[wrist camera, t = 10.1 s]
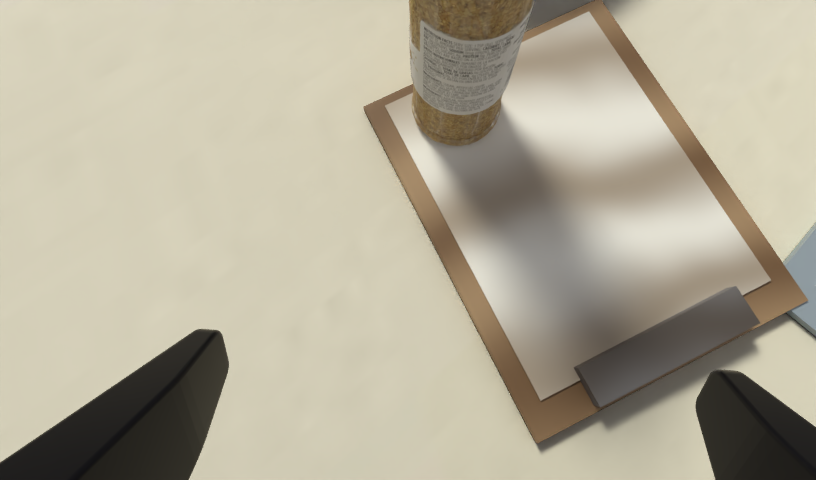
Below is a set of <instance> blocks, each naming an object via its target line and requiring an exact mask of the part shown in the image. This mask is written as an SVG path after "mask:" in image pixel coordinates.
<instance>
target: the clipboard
mask: <svg viewBox="0 0 816 480" xmlns="http://www.w3.org/2000/svg"><path fill="white" fill-rule="evenodd" d="M412 96H413V84H412V85H410V86H408V87H405V88H403V89H401V90H399V91H397V92H395V93H392V94H390V95H388V96H386V97H384V98H382V99H379V100H377V101H375V102H373V103H371V104H369V105H366V106H364V111H365V113H366V115H367V117H368V119H369V121H370V123H371V125H372V127H373V129H374V131H375V133H376V135H377V137H378V139H379V141H380V142H381V144H382V146H383V148H384V150H385V152H386V154H387V156H388V158H389V160H390V162H391V164H392V166H393V168H394V170H395V172H396V173H397V175H398V177H399V179H400V181H401V183H402V185H403V187H404V189H405V191H406V193H407V195H408V197H409V199H410V201H411V203H412V205H413V206H414V208H415V210H416V212H417V214H418V216H419V218H420V220H421V222H422V224H423V226H424V228H425V230H426V232H427V234H428V236H429V237H430V239H431V241H432V243H433V245H434V247H435V249H436V251H437V253H438V255H439V257H440V259H441V261H442V263H443V265H444V267H445V269H446V270H447V272H448V274H449V276H450V278H451V280H452V282H453V284H454V286H455V288H456V290H457V292H458V294H459V296H460V298H461V300H462V301H463V303H464V305H465V307H466V309H467V311H468V313H469V315H470V317H471V319H472V321H473V323H474V325H475V327H476V329H477V331H478V333H479V334H480V336H481V338H482V340H483V342H484V344H485V346H486V348H487V350H488V352H489V354H490V356H491V358H492V360H493V362H494V364H495V365H496V367H497V369H498V371H499V373H500V375H501V377H502V379H503V381H504V383H505V385H506V387H507V389H508V391H509V393H510V395H511V396H512V398H513V400H514V402H515V404H516V406H517V408H518V410H519V412H520V414H521V416H522V418H523V420H524V422H525V424H526V426H527V428H528V429H529V431H530V433H531V435H532V437H533V439H534V441H535V442H536V443H539V442H541V441H543V440H545V439H547V438H549V437H551V436H553V435H555V434H556V433H558V432H560V431H562V430H564V429H566V428H568V427H570V426H572V425H573V424H575V423H577V422H579V421H581V420H583V419H585V418H587V417H589V416H590V415H592V414H594V413H596V412H598V411H600V410H602V409H604V408H606V407H608V406H609V405H611V404H613V403H615V402H617V401H619V400H621V399H623V398H625V397H626V396H628V395H630V394H632V393H634V392H636V391H638V390H640V389H642V388H643V387H645V386H647V385H649V384H651V383H653V382H655V381H657V380H659V379H660V378H662V377H664V376H666V375H668V374H670V373H672V372H674V371H676V370H678V369H679V368H681V367H683V366H685V365H687V364H689V363H691V362H693V361H695V360H696V359H698V358H700V357H702V356H704V355H706V354H708V353H710V352H712V351H713V350H715V349H717V348H719V347H721V346H723V345H725V344H727V343H729V342H731V341H732V340H734V339H736V338H738V337H740V336H742V335H744V334H746V333H748V332H749V331H751V330H753V329H755V328H757V327H759V326H761V325H763V324H765V323H766V322H768V321H770V320H772V319H774V318H776V317H778V316H780V315H782V314H783V313H785V312H787V311H789V310H791V309H793V308H795V307H797V306H799V305H801V304H802V303H804V302H806V301H808V299H807V298H806V296H805V295H804V293H803V292H802V290H801V289H800V287H799V286H798V285H797V283H796V282H795V280H794V279H793V277H792V276H791V274H790V273H789V271H788V270H787V269H786V267H785V266H784V264H783V263H782V261H781V260H780V258H779V257H778V256H777V254H776V253H775V251H774V250H773V248H772V247H771V245H770V244H769V242H768V241H767V240H766V238H765V237H764V235H763V234H762V232H761V231H760V229H759V228H758V227H757V225H756V224H755V222H754V221H753V219H752V218H751V216H750V215H749V213H748V212H747V211H746V209H745V208H744V206H743V205H742V203H741V202H740V200H739V199H738V198H737V196H736V195H735V193H734V192H733V190H732V189H731V187H730V186H729V184H728V183H727V182H726V180H725V179H724V177H723V176H722V174H721V173H720V171H719V170H718V169H717V167H716V166H715V164H714V163H713V161H712V160H711V158H710V157H709V155H708V154H707V153H706V151H705V150H704V148H703V147H702V145H701V144H700V142H699V141H698V140H697V138H696V137H695V135H694V134H693V132H692V131H691V129H690V128H689V126H688V125H687V124H686V122H685V121H684V119H683V118H682V116H681V115H680V113H679V112H678V111H677V109H676V108H675V106H674V105H673V103H672V102H671V100H670V99H669V98H668V96H667V95H666V93H665V92H664V90H663V89H662V87H661V86H660V84H659V83H658V82H657V80H656V79H655V77H654V76H653V74H652V73H651V71H650V70H649V69H648V67H647V66H646V64H645V63H644V61H643V60H642V58H641V57H640V55H639V54H638V53H637V51H636V50H635V48H634V47H633V45H632V44H631V42H630V41H629V40H628V38H627V37H626V35H625V34H624V32H623V31H622V29H621V28H620V26H619V25H618V24H617V22H616V21H615V19H614V18H613V16H612V15H611V13H610V12H609V11H608V9H607V8H606V6H605V5H604V3H603V2H602V0H594V1H592V2H590V3H587V4H585V5H583V6H581V7H579V8H577V9H574V10H572V11H570V12H568V13H566V14H564V15H561V16H559V17H557V18H555V19H553V20H551V21H548V22H546V23H544V24H542V25H540V26H538V27H535V28H533V29H531V30H529V31H527V32H525V33H524V36H523V39H522V42H521V45H520V48H519V52H518V55H517V58H516V61H515V64H514V67H513V71H512V74H511V77H510V80H509V83H508V85H507V88H506V89H505V91H504V93H503V95H502V99H501V109H500V114H499V117H498V120H497V122H496V124H495V126H494V127H493V129H492V130H491V131H490V132H489V133H488V134H487V135H486V136H484V137H483V138H481V139H480V140H478V141H476V142H474V143H471V144H470V145H462V146H452V145H446V144H443V143H439V142H436V141H434V140H433V139H431V138H430V137H428V136H427V135H426V134H425V133H424V132H423V131H422V130H421V128H420V127H419V126H418V125H417V123H416V121H415V118H414V116H413V113H412Z"/></svg>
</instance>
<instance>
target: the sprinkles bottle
mask: <svg viewBox="0 0 816 480" xmlns="http://www.w3.org/2000/svg"><path fill="white" fill-rule="evenodd" d="M534 2H535V0H409V9H410V24H409V44H410V65H411V77H412V81H413V96H412V113H413V116H414V118H415V121H416V123H417V125H418V126H419V127H420V128H421V130H422V131H423V132H424V133H425V134H426V135H427V136H428V137H430V138H431V139H433V140H434V141H436V142H439V143H443V144H446V145H452V146H462V145H470V144H471V143H474V142H476V141H478V140H480V139H481V138H483V137H484V136H486V135H487V134H488V133H489V132H490V131H491V130H492V129H493V127H494V126H495V124H496V122H497V120H498V117H499V114H500V109H501V99H502V95H503V93H504V91H505V89H506V88H507V85H508V83H509V80H510V77H511V74H512V71H513V67H514V64H515V61H516V58H517V55H518V52H519V48H520V45H521V42H522V39H523V36H524V33H525V30H526V27H527V24H528V21H529V18H530V14H531V11H532V8H533V5H534Z"/></svg>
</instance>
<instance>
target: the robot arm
mask: <svg viewBox="0 0 816 480" xmlns="http://www.w3.org/2000/svg"><path fill="white" fill-rule="evenodd" d="M228 368H229V361H228V356H227V352H226V348H225V344H224V340H223V336H222V334H221V332H220V331H217V330H209V329H198V330H195V331H194V332H192V333H191V334H189V335H188V336H186V337H185V338H183V339H182V340H180V341H179V342H177V343H176V344H174V345H173V346H171V347H170V348H168V349H167V350H166V351H164V352H163V353H161V354H160V355H158V356H157V357H155V358H154V359H152V360H151V361H149V362H148V363H146V364H145V365H143V366H142V367H140V368H139V369H138V370H136V371H135V372H133V373H132V374H130V375H129V376H127V377H126V378H124V379H123V380H121V381H120V382H118V383H117V384H115V385H114V386H112V387H111V388H109V389H108V390H107V391H105V392H104V393H102V394H101V395H99V396H98V397H96V398H95V399H93V400H92V401H90V402H89V403H87V404H86V405H84V406H83V407H81V408H80V409H79V410H77V411H76V412H74V413H73V414H71V415H70V416H68V417H67V418H65V419H64V420H62V421H61V422H59V423H58V424H56V425H55V426H53V427H52V428H50V429H49V430H48V431H46V432H45V433H43V434H42V435H40V436H39V437H37V438H36V439H34V440H33V441H31V442H30V443H28V444H27V445H25V446H24V447H22V448H21V449H20V450H18V451H17V452H15V453H14V454H12V455H11V456H9V457H8V458H6V459H5V460H3V461H2V462H0V480H189V478H190V476H191V473H192V471H193V469H194V467H195V465H196V462H197V460H198V458H199V455H200V453H201V451H202V448H203V445H204V442H205V440H206V437H207V434H208V431H209V428H210V425H211V422H212V419H213V416H214V413H215V410H216V407H217V404H218V401H219V398H220V395H221V392H222V389H223V385H224V382H225V379H226V376H227V373H228ZM696 413H697V417H698V420H699V424H700V427H701V431H702V434H703V438H704V441H705V445H706V448H707V452H708V455H709V459H710V462H711V466H712V469H713V473H714V476H715V480H816V427H815V426H814V425H812V424H811V423H810V422H808V421H807V420H805V419H804V418H803V417H801V416H800V415H799V414H797V413H796V412H795V411H793V410H792V409H791V408H789V407H788V406H786V405H785V404H784V403H782V402H781V401H780V400H778V399H777V398H776V397H774V396H773V395H772V394H770V393H769V392H767V391H766V390H765V389H763V388H762V387H761V386H759V385H758V384H757V383H755V382H754V381H753V380H751V379H750V378H749V377H747V376H746V375H744V374H743V373H741V372H738V371H731V370H714V371H713V372H711V373H710V375H709V377H708V379H707V381H706V382H705V384H704V386H703V388H702V390H701V392H700V394H699V395H698V397H697V400H696Z"/></svg>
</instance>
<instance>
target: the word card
mask: <svg viewBox="0 0 816 480" xmlns="http://www.w3.org/2000/svg"><path fill="white" fill-rule="evenodd" d="M783 264H784V266H785V267H786V269H787V270H788V271H789V273H790V274H791V276H792V277H793V279H794V280H795V282H796V283H797V285H798V286H799V287H800V289H801V290H802V292H803V293H804V295H805V296H806V298H807V299H808V301H806V302H804V303H802V304H801V305H799V306H797V307H795V308H793V309H791V310H789V311H787V312H786V313H787V314H788V315H790V316H791V317H792V318H793V319H795V320H796V321H797V322H798V323H800V324H801V325H802V326H803V327H805V328H806V329H807V330H808V331H809V332H811V333H812V334H813V335H814V336H816V223H815V224H814V225H813V227H812V228H811V229H810V230H809V231H808V233H807V234H806V235H805V236H804V238H803V239H802V240H801V241H800V242H799V244H798V245H797V246H796V247H795V249H794V250H793V251H792V252H791V253H790V255H789V256H788V257H787V258H786V260H785V261H784V262H783Z"/></svg>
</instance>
